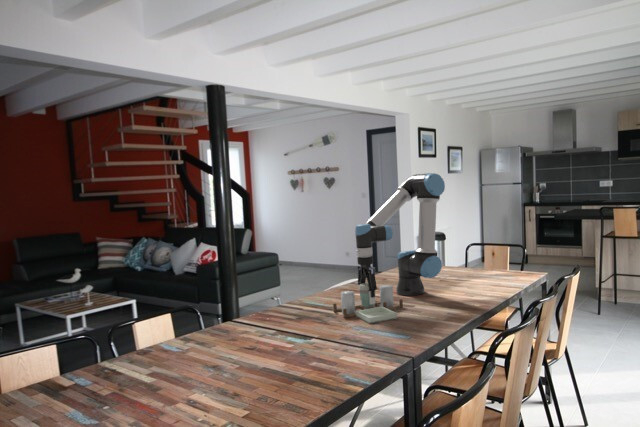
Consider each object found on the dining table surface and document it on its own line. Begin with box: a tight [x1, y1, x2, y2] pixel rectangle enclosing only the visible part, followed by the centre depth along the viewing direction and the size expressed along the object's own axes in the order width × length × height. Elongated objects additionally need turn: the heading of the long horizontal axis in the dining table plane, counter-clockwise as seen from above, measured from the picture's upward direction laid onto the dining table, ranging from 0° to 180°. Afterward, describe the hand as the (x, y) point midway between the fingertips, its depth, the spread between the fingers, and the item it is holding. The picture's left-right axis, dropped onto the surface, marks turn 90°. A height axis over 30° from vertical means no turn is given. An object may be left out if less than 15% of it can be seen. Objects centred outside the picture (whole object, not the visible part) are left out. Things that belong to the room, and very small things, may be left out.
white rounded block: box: [379, 284, 395, 308], centre depth 237 cm, size 6×6×10 cm
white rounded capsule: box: [340, 290, 356, 315], centre depth 230 cm, size 6×6×10 cm
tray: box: [355, 305, 398, 324], centre depth 220 cm, size 14×14×2 cm
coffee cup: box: [358, 282, 376, 309], centre depth 233 cm, size 8×8×12 cm
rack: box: [332, 298, 404, 319], centre depth 234 cm, size 32×14×4 cm, turn 111°
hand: (368, 301), depth 234 cm, fingers closed on coffee cup, 9 cm apart
